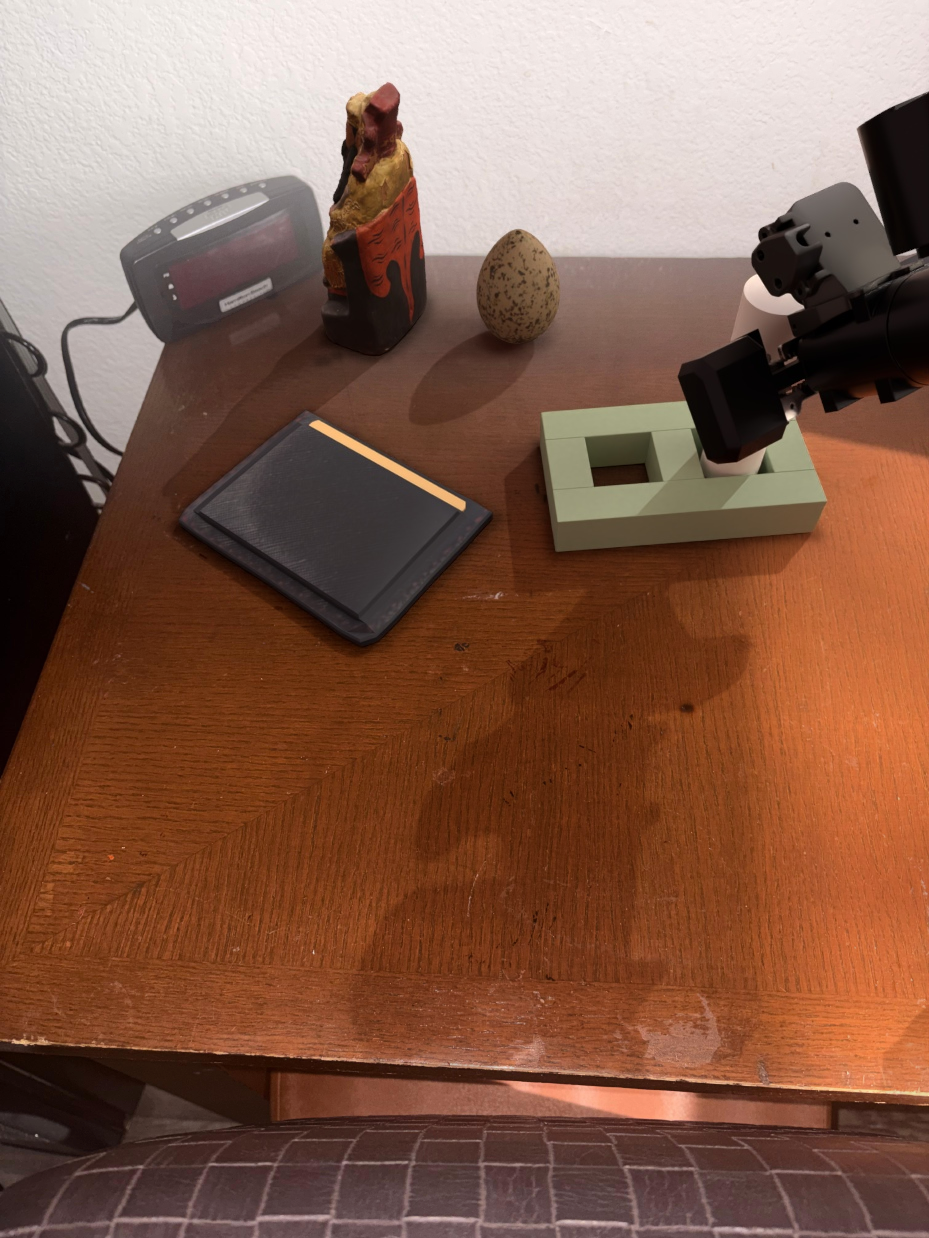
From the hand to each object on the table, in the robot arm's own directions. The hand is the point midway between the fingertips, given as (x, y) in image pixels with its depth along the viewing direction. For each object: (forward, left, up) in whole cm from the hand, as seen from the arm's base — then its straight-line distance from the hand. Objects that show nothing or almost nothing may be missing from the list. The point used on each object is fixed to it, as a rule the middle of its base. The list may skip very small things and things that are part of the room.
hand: (739, 376), depth 58 cm
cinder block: (+3, +1, -10) cm, 10 cm away
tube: (-1, +1, -8) cm, 8 cm away
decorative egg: (+13, -18, -10) cm, 24 cm away
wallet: (+29, +2, -10) cm, 31 cm away
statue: (+26, -21, -10) cm, 35 cm away
